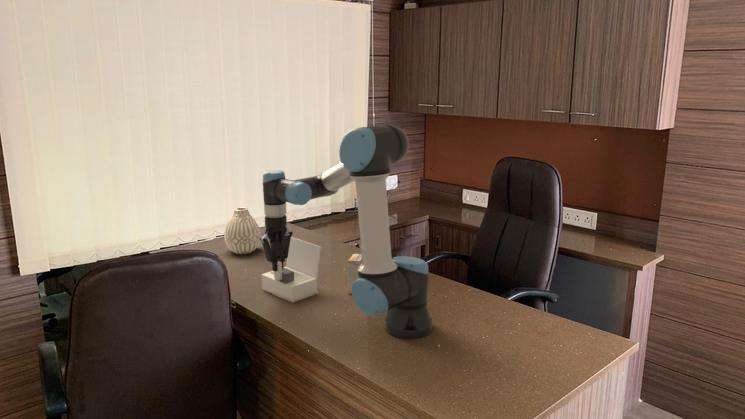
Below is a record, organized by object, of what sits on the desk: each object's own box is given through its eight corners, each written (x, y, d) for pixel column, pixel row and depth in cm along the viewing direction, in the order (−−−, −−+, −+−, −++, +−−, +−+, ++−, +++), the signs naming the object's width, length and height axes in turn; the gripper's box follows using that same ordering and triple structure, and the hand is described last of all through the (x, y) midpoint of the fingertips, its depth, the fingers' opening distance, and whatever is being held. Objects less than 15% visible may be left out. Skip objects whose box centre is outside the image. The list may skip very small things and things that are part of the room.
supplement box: (360, 295, 204) (360, 261, 201) (347, 294, 205) (347, 260, 202) (365, 286, 212) (365, 253, 209) (353, 285, 213) (352, 253, 210)
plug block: (294, 280, 202) (293, 271, 201) (285, 283, 199) (285, 274, 198) (283, 276, 206) (283, 267, 205) (275, 279, 203) (274, 270, 202)
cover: (316, 277, 204) (319, 277, 205) (320, 246, 202) (322, 246, 203) (286, 265, 216) (289, 265, 217) (289, 236, 215) (292, 236, 216)
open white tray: (318, 293, 206) (317, 278, 204) (292, 303, 197) (291, 287, 196) (288, 280, 218) (287, 266, 216) (262, 289, 210) (261, 274, 208)
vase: (245, 243, 263) (242, 202, 258) (269, 250, 254) (266, 207, 249) (217, 252, 251) (214, 209, 246) (242, 259, 242) (239, 215, 237)
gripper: (283, 209, 201) (286, 271, 207) (253, 216, 192) (257, 281, 198) (297, 213, 196) (299, 276, 202) (266, 220, 187) (269, 286, 193)
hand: (278, 278), depth 200 cm, fingers closed
